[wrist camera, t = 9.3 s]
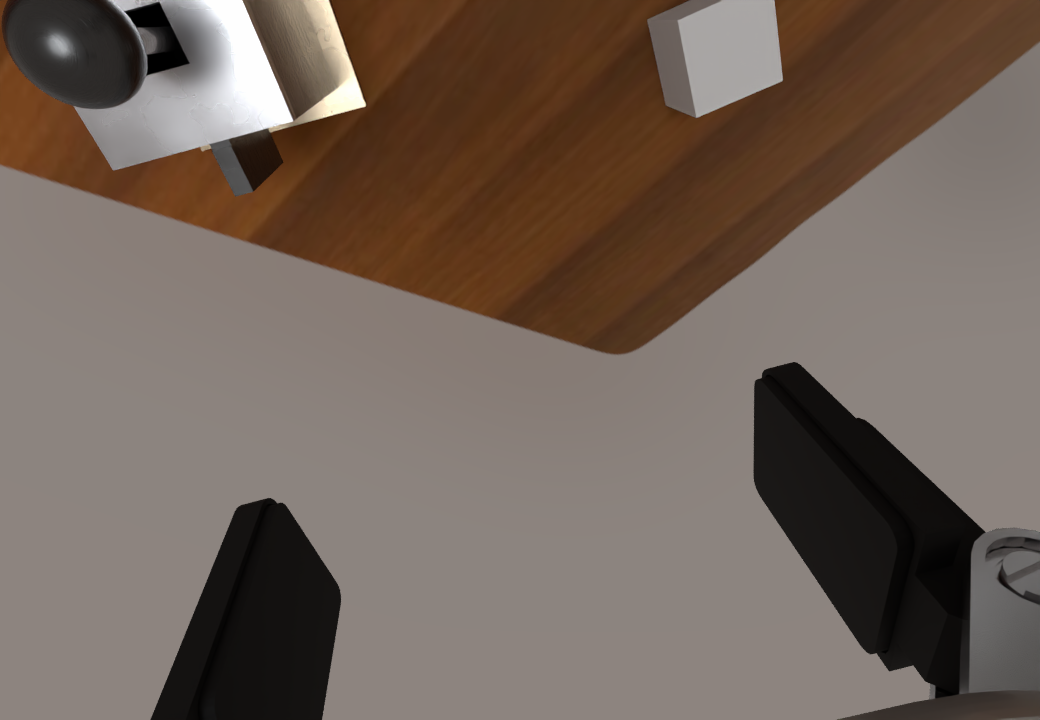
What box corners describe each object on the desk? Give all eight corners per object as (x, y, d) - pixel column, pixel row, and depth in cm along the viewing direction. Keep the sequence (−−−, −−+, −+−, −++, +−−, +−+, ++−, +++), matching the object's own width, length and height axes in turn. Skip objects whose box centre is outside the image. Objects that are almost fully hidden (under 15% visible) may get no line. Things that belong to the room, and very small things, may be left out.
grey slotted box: (291, -109, 33) (208, -180, 21) (374, 125, 40) (347, 173, 28) (98, -55, 33) (-95, -95, 21) (214, 168, 41) (120, 235, 28)
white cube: (741, 72, 42) (783, 81, 37) (665, 105, 42) (696, 118, 37) (728, -19, 39) (772, -22, 34) (646, 19, 39) (677, 20, 34)
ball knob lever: (243, -48, 30) (75, -103, 16) (295, 80, 34) (194, 127, 20) (131, -17, 30) (-135, -44, 16) (194, 108, 34) (20, 174, 20)
